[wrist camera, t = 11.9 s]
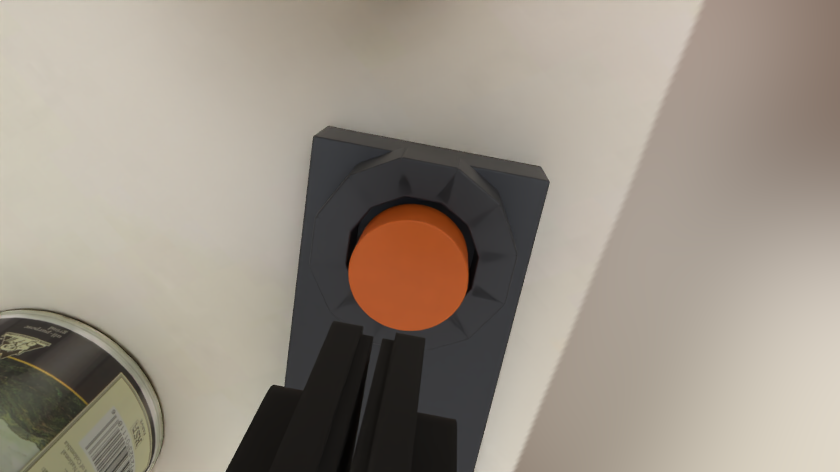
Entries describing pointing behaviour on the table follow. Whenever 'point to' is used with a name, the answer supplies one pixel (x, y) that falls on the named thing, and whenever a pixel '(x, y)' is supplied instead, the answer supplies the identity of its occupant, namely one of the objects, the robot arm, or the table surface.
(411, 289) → the button
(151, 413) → the coffee can
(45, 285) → the table surface
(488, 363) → the button
